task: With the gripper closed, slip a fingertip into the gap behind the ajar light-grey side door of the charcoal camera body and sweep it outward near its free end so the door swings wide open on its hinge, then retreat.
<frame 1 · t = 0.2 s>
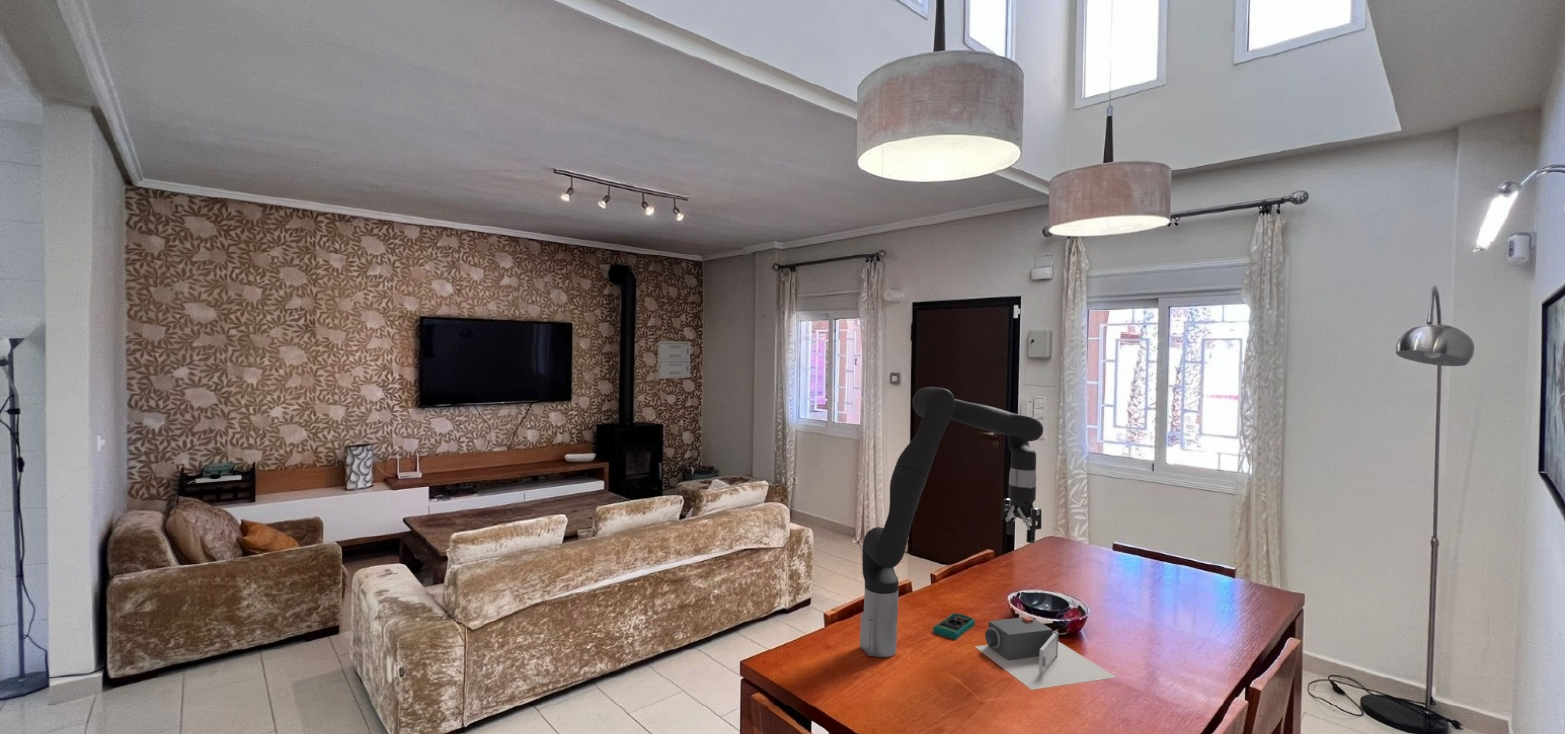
hand: (1020, 538, 188), 29 cm above the table, tool pointing down, fingers open, 8 cm apart
camera body: (1019, 650, 178), resting on mat
mat: (1042, 662, 172), on the table
side door: (1049, 652, 169), point 4 cm above the table, hinge at 35.0°
digital multimeter: (954, 631, 191), on the table
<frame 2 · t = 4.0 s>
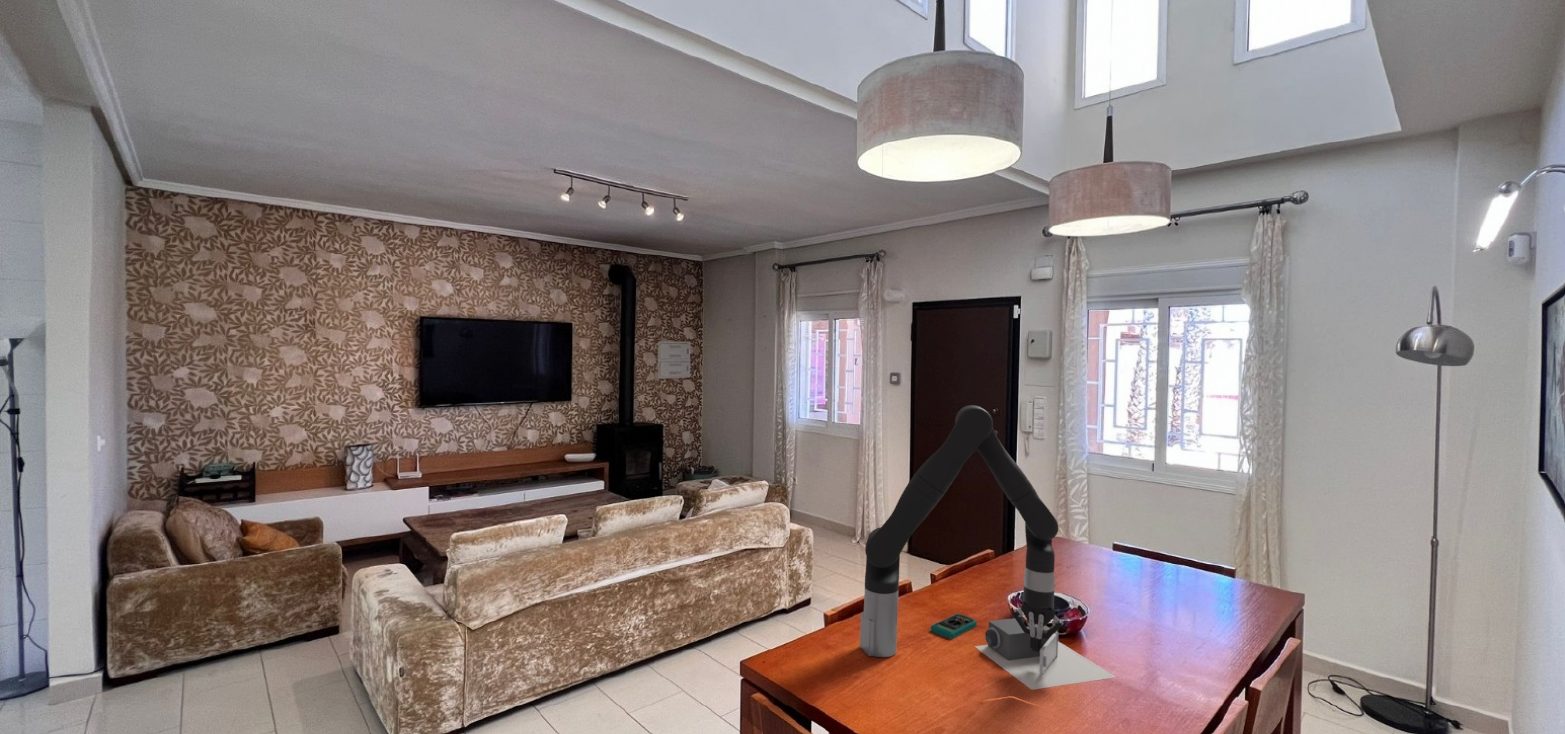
hand: (1036, 650, 168), 5 cm above the table, tool pointing down, fingers closed
side door: (1049, 652, 169), point 4 cm above the table, hinge at 35.5°, touching gripper
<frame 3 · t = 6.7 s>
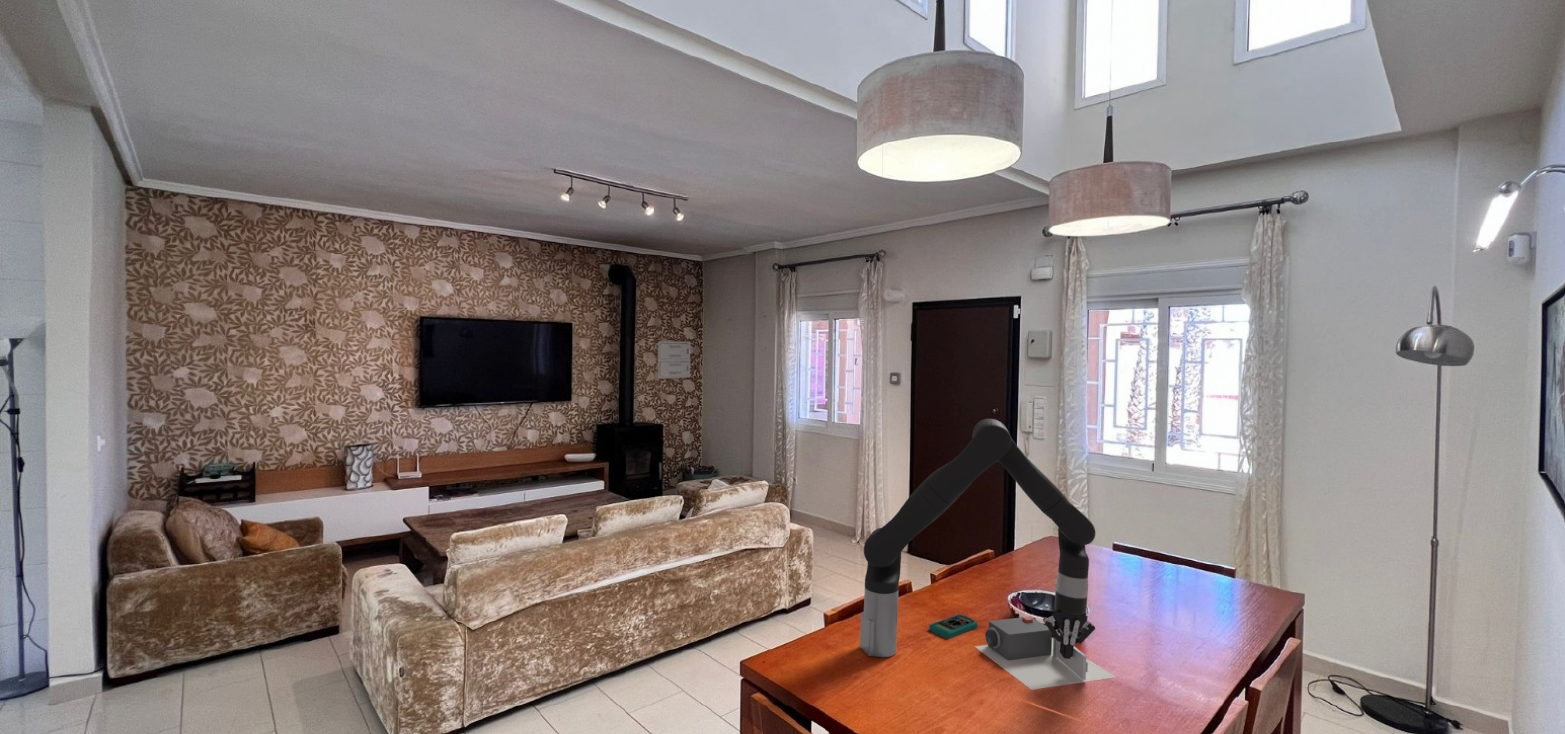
hand: (1066, 657, 165), 5 cm above the table, tool pointing down, fingers closed
side door: (1069, 655, 168), point 4 cm above the table, hinge at 78.8°, touching gripper
everything else where it was.
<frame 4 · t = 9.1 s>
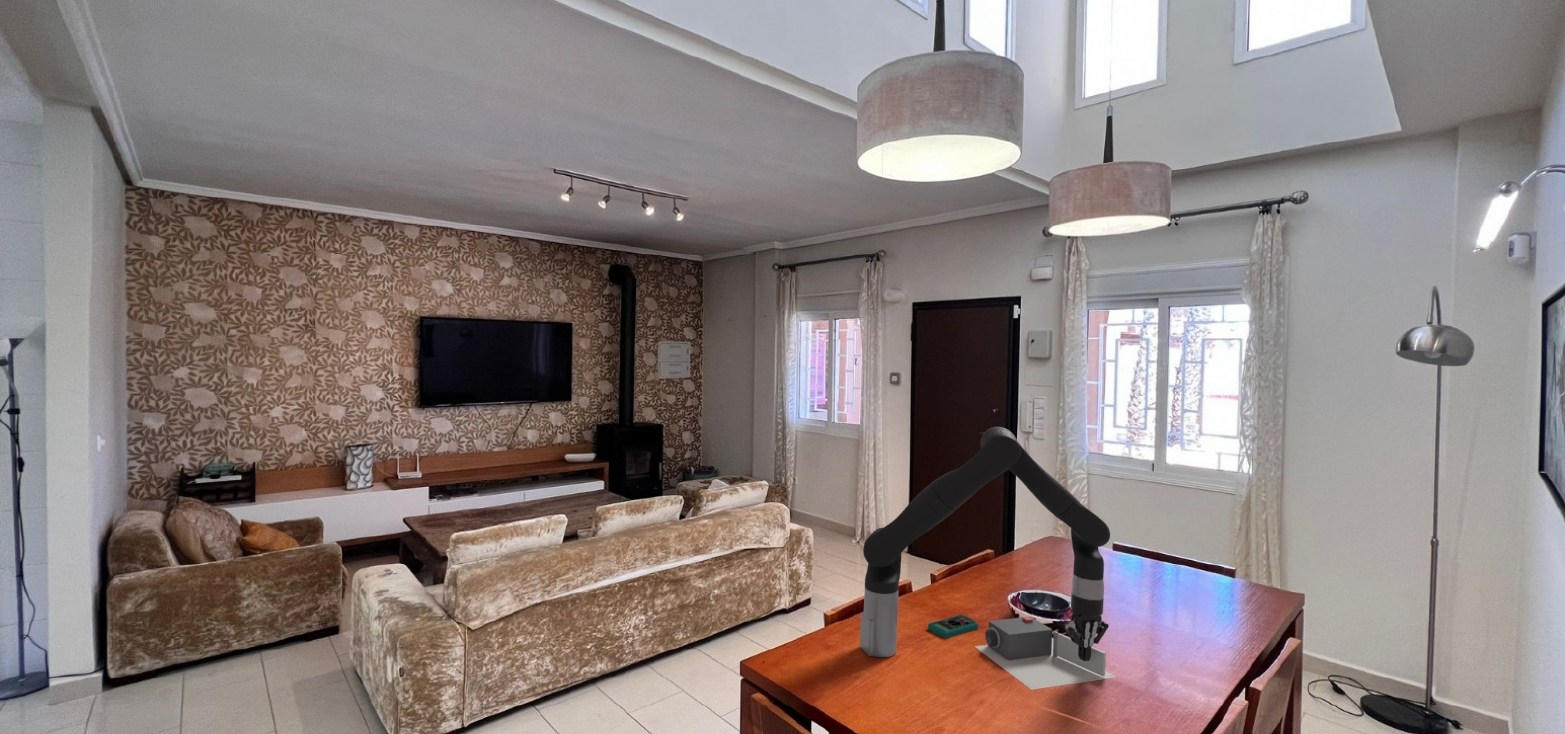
hand: (1084, 659, 165), 4 cm above the table, tool pointing down, fingers closed
side door: (1078, 653, 169), point 4 cm above the table, hinge at 106.2°
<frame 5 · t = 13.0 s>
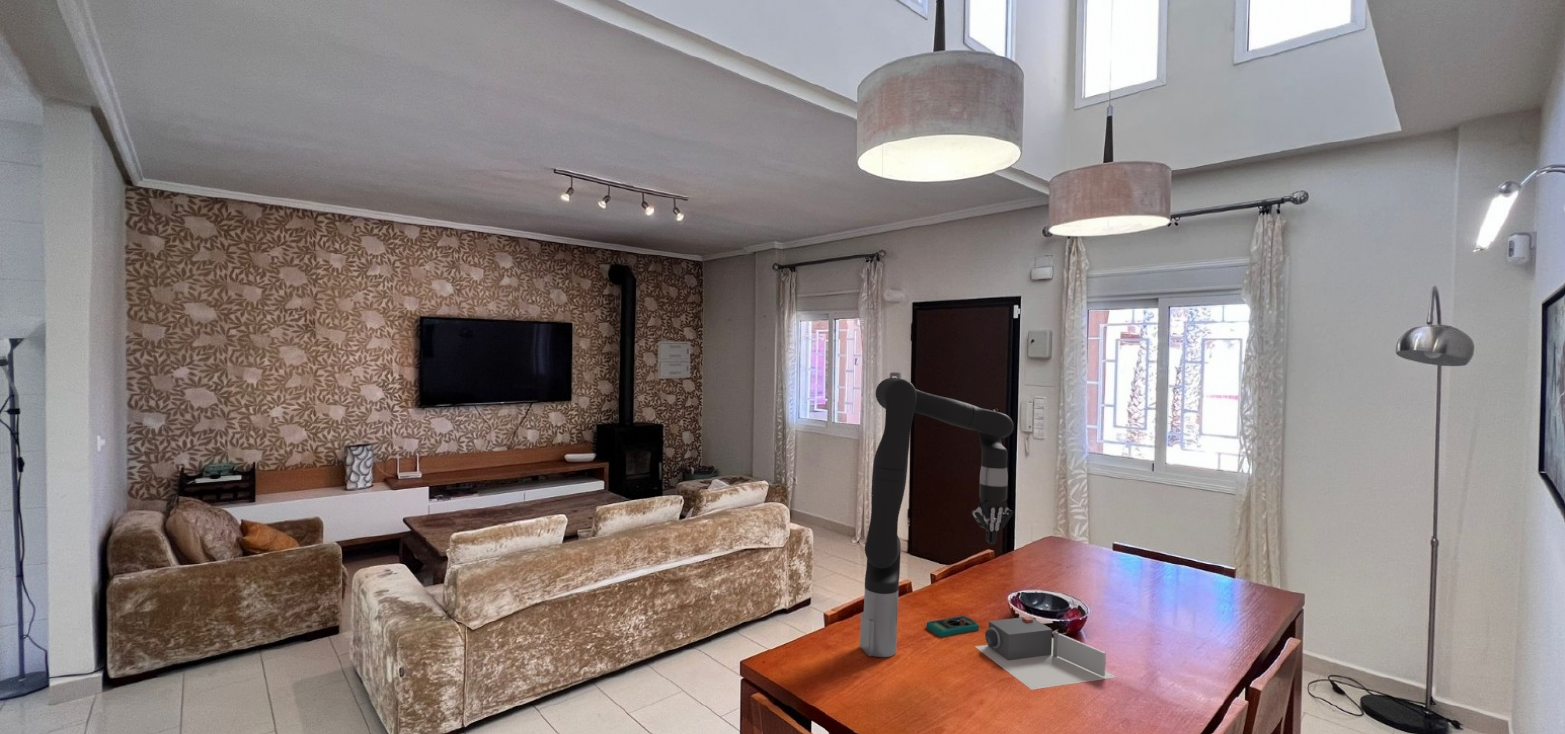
hand: (991, 543, 181), 29 cm above the table, tool pointing down, fingers closed
at the end: side door at +106° (first picture: +35°) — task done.
